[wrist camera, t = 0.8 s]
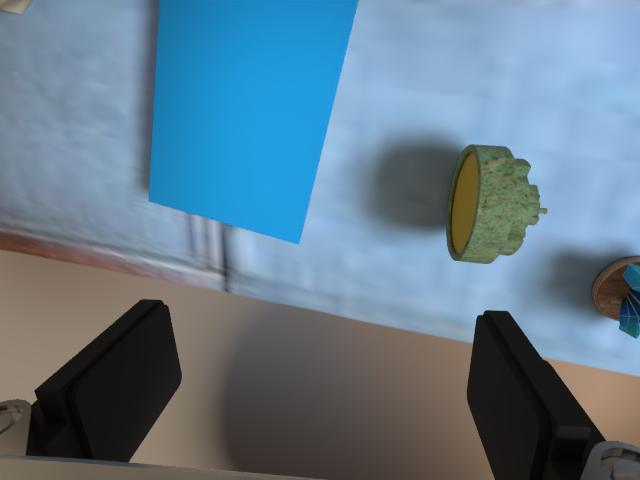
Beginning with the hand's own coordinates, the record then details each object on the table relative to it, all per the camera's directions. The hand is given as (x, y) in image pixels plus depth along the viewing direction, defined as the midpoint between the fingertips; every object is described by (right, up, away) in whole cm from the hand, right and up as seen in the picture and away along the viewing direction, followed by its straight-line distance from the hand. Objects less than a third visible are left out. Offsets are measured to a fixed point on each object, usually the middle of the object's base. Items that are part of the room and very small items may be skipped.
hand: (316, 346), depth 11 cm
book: (-7, +18, +25) cm, 31 cm away
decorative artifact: (+17, +8, +25) cm, 31 cm away
